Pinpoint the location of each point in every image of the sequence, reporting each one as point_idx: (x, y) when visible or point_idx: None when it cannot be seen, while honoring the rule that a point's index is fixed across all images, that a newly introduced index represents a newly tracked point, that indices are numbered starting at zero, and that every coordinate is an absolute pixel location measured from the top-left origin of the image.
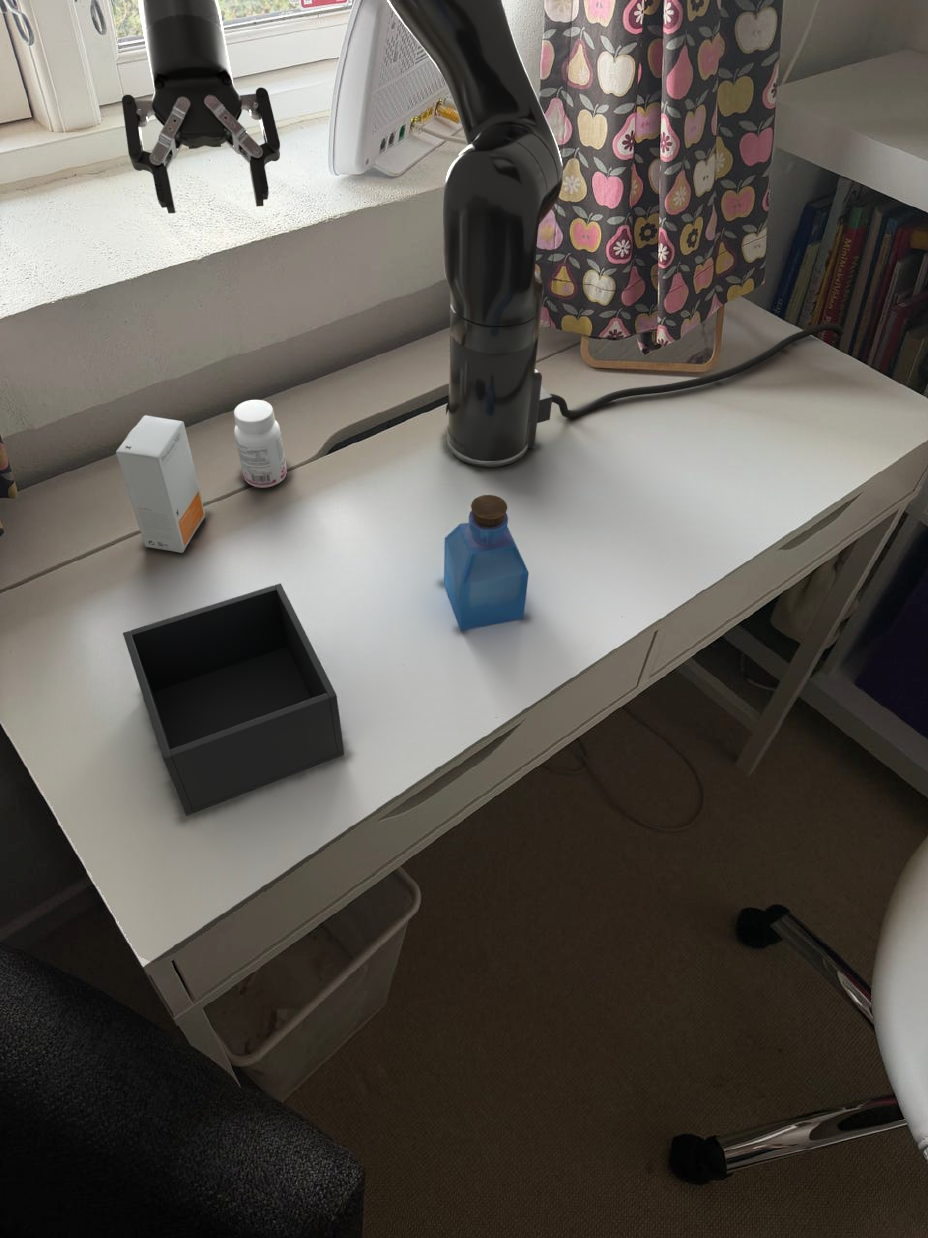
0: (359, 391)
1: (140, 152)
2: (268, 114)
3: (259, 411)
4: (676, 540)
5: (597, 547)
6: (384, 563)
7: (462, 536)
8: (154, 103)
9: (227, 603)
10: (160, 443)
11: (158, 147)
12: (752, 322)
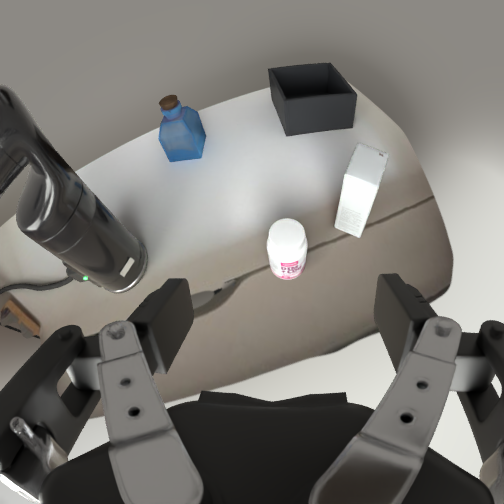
0: (185, 361)
1: (486, 334)
2: (15, 386)
3: (281, 230)
4: (92, 177)
5: (122, 175)
6: (226, 173)
7: (185, 116)
8: (491, 495)
9: (310, 96)
10: (358, 154)
11: (445, 351)
12: None
